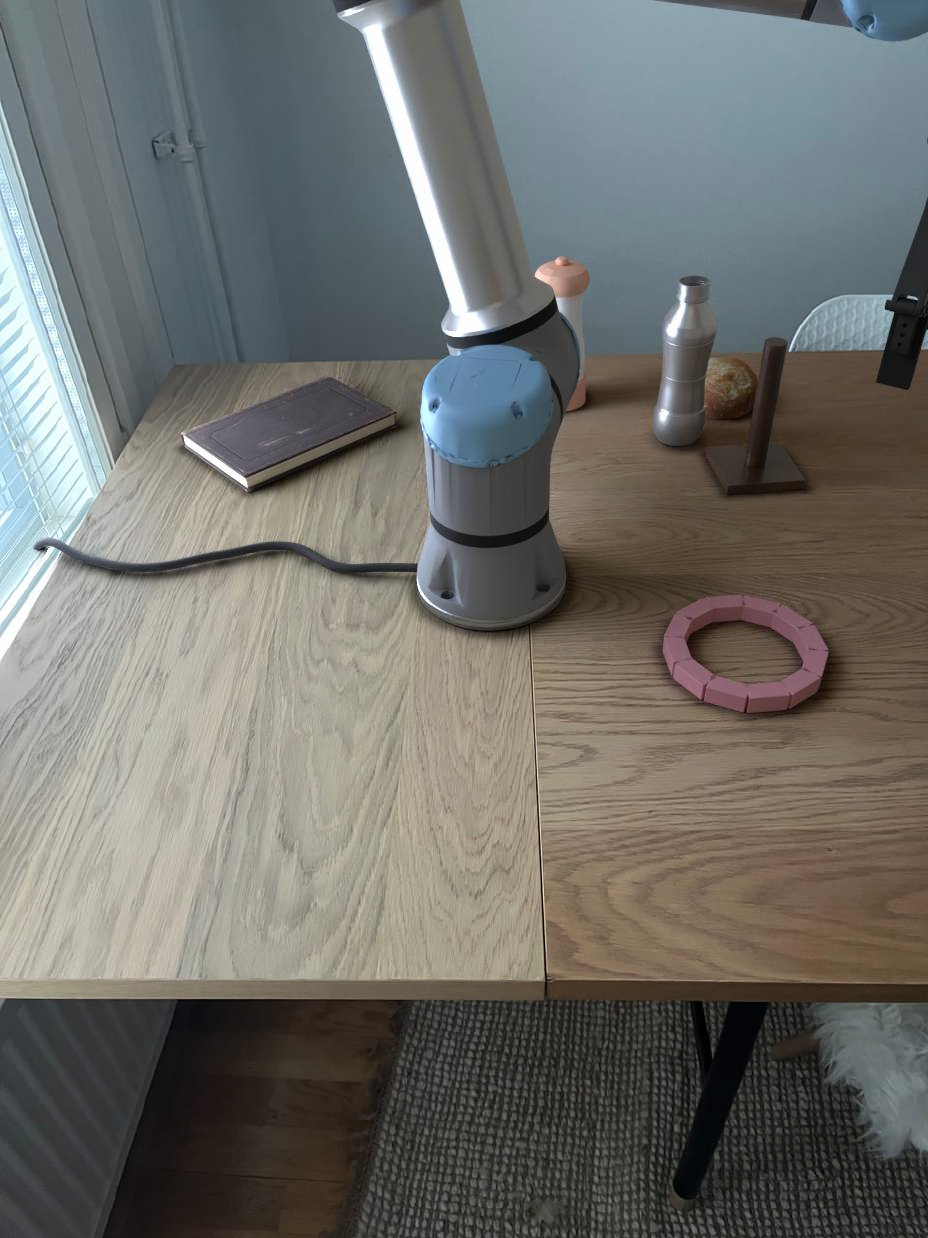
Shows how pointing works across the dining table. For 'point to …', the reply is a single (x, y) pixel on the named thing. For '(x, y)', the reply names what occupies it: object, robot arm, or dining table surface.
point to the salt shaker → (569, 307)
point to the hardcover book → (288, 432)
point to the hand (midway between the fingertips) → (916, 356)
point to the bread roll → (729, 388)
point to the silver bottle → (685, 363)
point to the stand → (759, 438)
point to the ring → (738, 693)
